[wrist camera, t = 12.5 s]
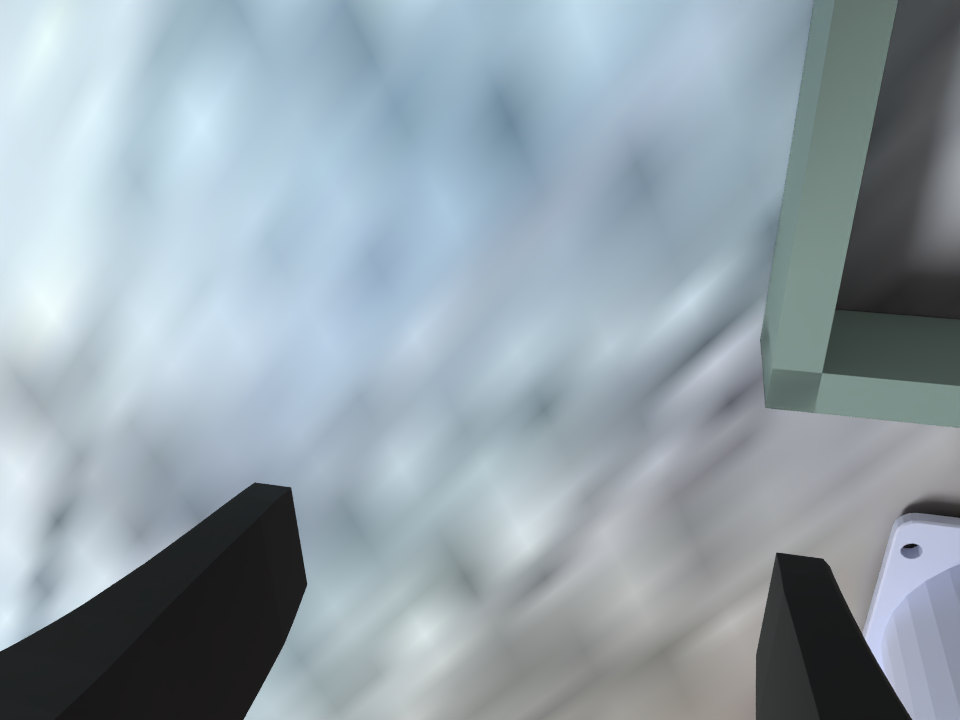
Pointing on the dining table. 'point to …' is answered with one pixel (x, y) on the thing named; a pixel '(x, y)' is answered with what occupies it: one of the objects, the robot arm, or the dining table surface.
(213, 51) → the dining table surface
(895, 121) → the dining table surface
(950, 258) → the dining table surface
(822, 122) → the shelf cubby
